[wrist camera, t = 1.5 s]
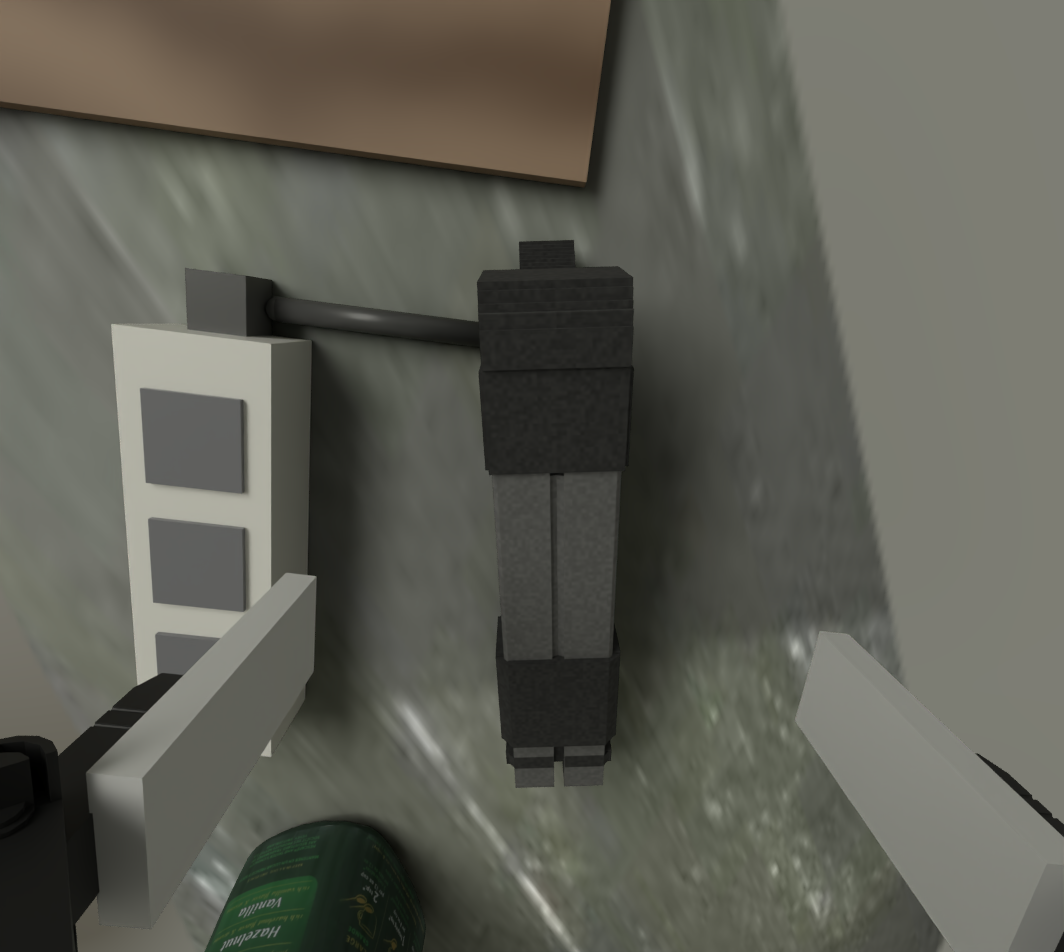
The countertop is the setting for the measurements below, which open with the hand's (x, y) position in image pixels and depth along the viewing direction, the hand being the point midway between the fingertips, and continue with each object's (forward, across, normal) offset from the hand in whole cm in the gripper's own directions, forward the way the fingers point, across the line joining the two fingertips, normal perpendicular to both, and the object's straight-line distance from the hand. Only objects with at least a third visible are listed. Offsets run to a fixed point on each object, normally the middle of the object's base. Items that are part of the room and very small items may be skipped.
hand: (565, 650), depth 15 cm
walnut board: (+9, -12, +16) cm, 22 cm away
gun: (+10, 0, 0) cm, 10 cm away
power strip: (+9, -9, -1) cm, 13 cm away
